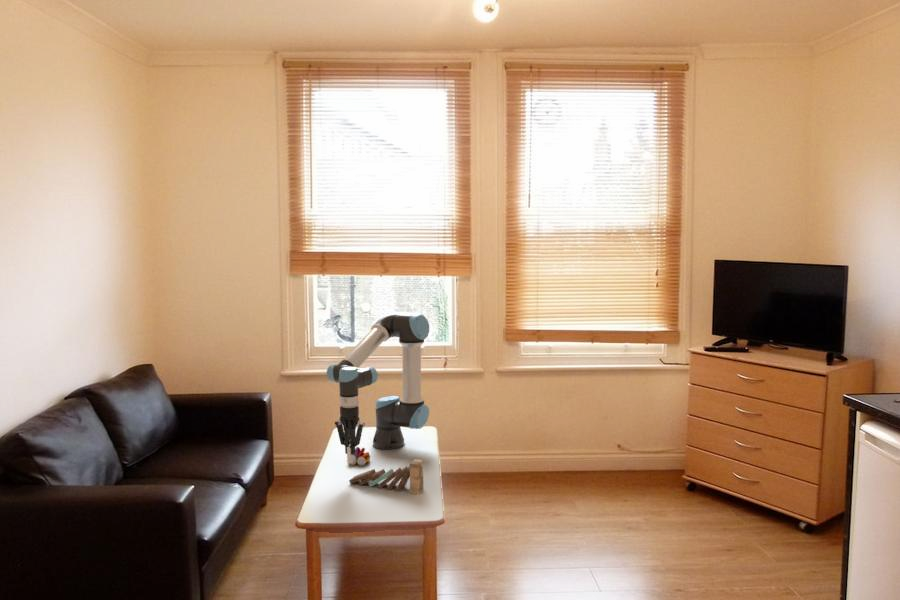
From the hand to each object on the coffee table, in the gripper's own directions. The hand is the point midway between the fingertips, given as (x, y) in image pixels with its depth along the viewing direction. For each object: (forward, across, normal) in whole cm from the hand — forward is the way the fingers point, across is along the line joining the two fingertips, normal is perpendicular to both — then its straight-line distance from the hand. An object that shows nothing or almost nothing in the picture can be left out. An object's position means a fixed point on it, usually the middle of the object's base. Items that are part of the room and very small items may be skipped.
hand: (350, 461), depth 251 cm
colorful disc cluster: (+9, -7, +20) cm, 23 cm away
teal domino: (+8, +10, 0) cm, 12 cm away
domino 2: (+8, +5, 0) cm, 9 cm away
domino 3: (+8, +14, 0) cm, 16 cm away
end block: (+8, +29, 0) cm, 31 cm away
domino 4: (+8, +18, 0) cm, 20 cm away
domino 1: (+8, +1, 0) cm, 8 cm away
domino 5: (+8, +22, 0) cm, 24 cm away
